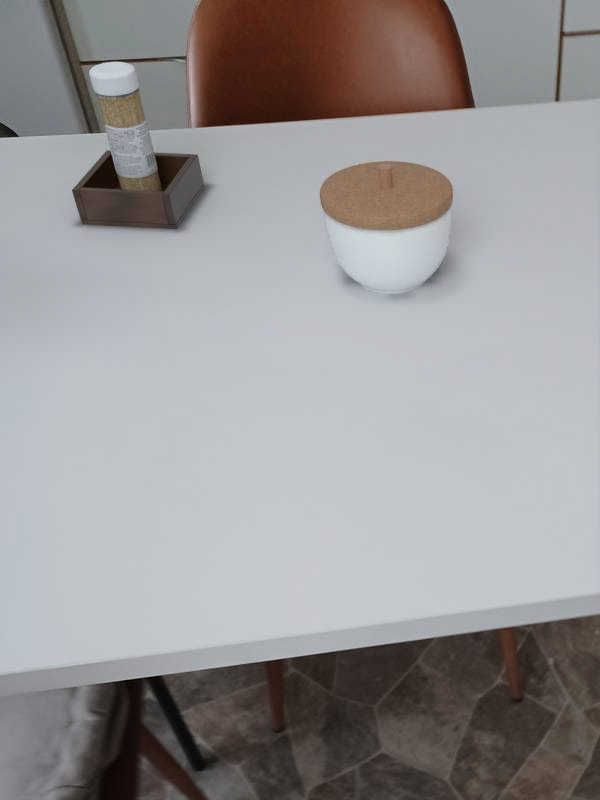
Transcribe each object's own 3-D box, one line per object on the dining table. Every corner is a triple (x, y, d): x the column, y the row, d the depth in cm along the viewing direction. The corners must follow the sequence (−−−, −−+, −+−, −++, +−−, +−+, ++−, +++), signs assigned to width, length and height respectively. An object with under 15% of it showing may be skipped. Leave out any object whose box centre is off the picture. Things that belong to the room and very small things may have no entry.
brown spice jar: (140, 189, 109) (107, 57, 99) (173, 196, 108) (143, 63, 98) (115, 205, 106) (78, 71, 96) (148, 213, 105) (115, 78, 95)
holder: (82, 227, 105) (71, 190, 102) (116, 185, 112) (106, 150, 109) (177, 232, 104) (169, 194, 101) (205, 190, 111) (198, 154, 108)
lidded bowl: (309, 298, 95) (294, 184, 87) (357, 242, 103) (348, 132, 95) (430, 319, 92) (426, 204, 84) (469, 259, 100) (469, 149, 92)
